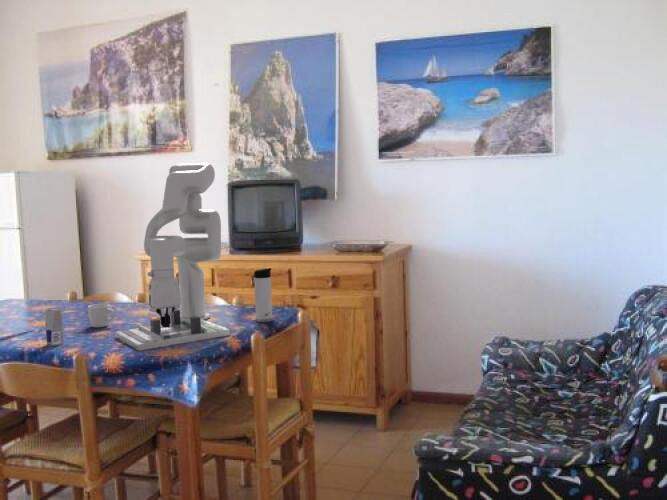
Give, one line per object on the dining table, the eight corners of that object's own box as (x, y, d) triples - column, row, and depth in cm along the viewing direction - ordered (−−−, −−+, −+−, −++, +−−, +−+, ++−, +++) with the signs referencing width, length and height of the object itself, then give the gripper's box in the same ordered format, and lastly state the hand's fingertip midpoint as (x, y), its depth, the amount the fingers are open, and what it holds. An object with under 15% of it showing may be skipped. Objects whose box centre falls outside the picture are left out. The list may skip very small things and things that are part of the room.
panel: (115, 337, 236) (114, 316, 236) (201, 324, 254) (200, 304, 254) (138, 350, 217) (137, 328, 216) (229, 335, 235) (228, 314, 234)
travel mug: (270, 322, 254) (268, 269, 251) (253, 322, 255) (251, 269, 253) (275, 319, 260) (273, 267, 258) (258, 318, 261) (256, 267, 259)
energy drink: (49, 342, 231) (47, 308, 230) (66, 342, 232) (63, 307, 231) (44, 346, 226) (42, 311, 225) (61, 345, 227) (58, 310, 225)
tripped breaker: (151, 332, 233) (150, 317, 232) (157, 331, 234) (156, 316, 233) (154, 333, 230) (153, 319, 230) (160, 332, 232) (160, 318, 231)
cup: (121, 324, 258) (120, 304, 257) (108, 329, 250) (107, 308, 249) (98, 323, 261) (96, 303, 260) (84, 328, 254) (82, 307, 253)
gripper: (145, 277, 225) (148, 332, 227) (187, 273, 233) (190, 325, 235) (137, 275, 231) (140, 328, 233) (179, 270, 239) (182, 322, 241)
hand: (165, 326), depth 234 cm, fingers closed
